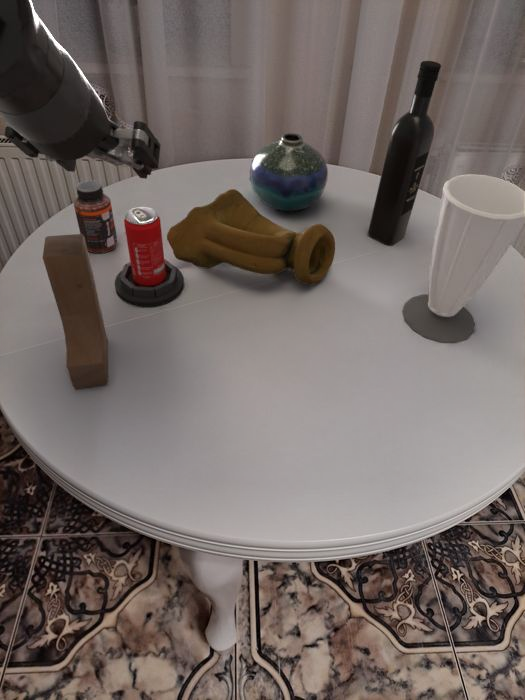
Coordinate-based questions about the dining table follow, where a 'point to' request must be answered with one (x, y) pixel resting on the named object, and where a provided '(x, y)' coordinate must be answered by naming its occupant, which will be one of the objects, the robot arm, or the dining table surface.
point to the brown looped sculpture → (250, 240)
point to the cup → (465, 252)
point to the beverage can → (145, 246)
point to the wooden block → (78, 309)
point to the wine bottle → (405, 162)
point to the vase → (288, 174)
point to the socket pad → (150, 300)
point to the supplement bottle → (95, 217)
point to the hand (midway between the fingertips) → (108, 166)
